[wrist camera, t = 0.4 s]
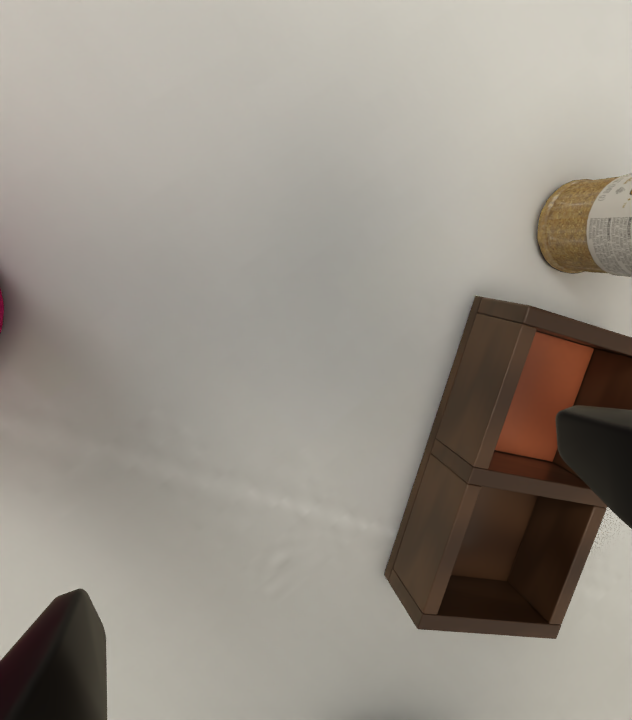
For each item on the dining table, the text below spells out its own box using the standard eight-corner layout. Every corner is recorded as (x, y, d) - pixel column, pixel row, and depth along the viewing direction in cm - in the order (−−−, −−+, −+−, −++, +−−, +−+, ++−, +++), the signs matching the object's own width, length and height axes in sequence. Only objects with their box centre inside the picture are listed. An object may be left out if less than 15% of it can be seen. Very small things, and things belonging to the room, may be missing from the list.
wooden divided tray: (507, 587, 30) (556, 639, 26) (383, 574, 27) (417, 629, 23) (600, 334, 28) (669, 349, 24) (475, 295, 25) (528, 305, 21)
